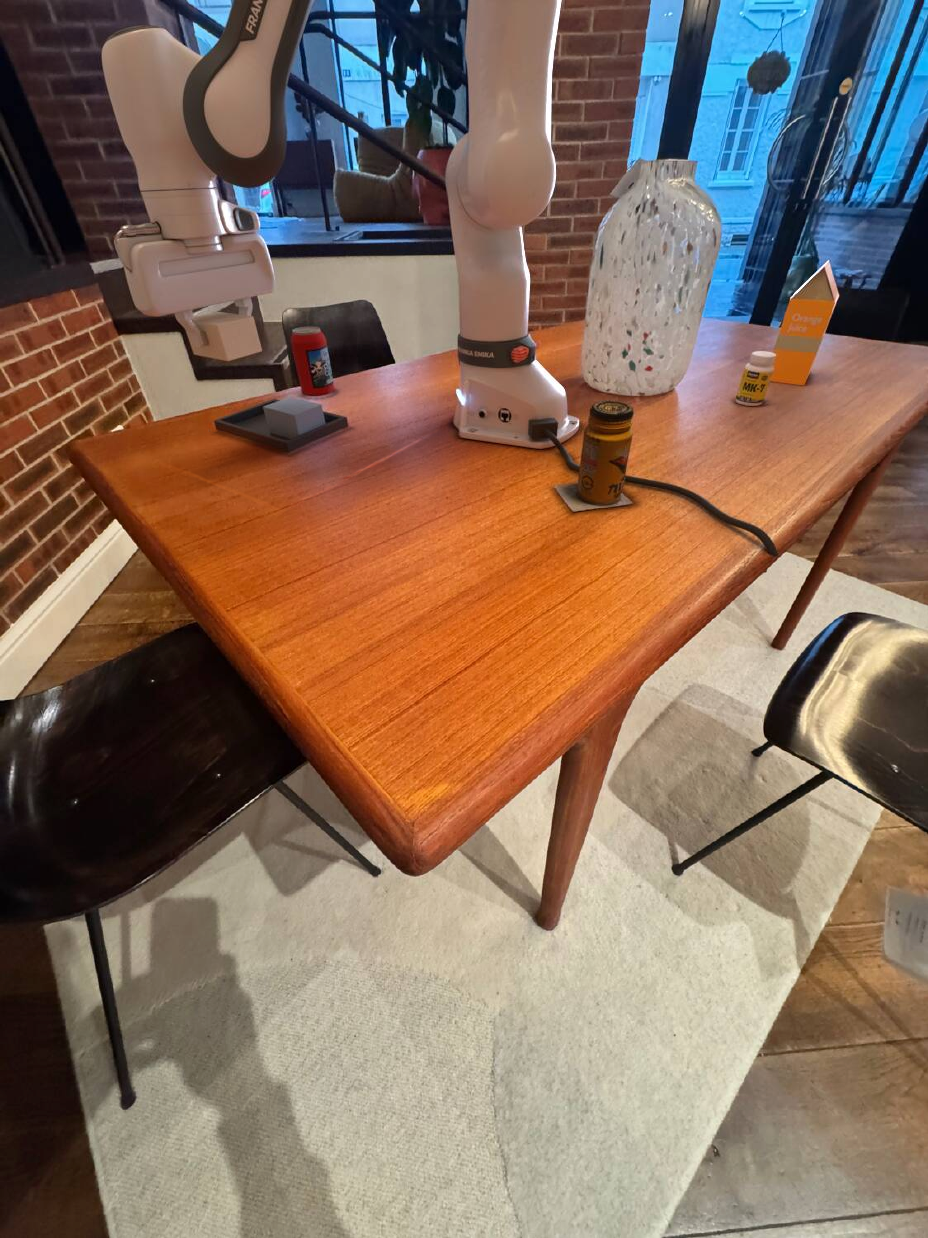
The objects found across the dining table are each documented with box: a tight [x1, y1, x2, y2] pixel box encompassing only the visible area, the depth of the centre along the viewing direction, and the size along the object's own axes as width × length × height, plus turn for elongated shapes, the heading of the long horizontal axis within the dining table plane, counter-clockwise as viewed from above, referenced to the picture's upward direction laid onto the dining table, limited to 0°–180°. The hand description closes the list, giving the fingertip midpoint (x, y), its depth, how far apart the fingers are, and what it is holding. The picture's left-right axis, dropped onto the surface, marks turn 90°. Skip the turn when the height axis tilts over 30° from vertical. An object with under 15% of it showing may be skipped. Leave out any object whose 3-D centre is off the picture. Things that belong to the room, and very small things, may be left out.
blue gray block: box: [263, 396, 325, 439], centre depth 90 cm, size 8×6×4 cm
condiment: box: [553, 400, 634, 513], centre depth 68 cm, size 7×8×12 cm
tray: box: [213, 398, 349, 453], centre depth 93 cm, size 20×14×2 cm
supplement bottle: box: [734, 350, 776, 407], centre depth 95 cm, size 5×5×8 cm
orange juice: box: [770, 259, 840, 386], centre depth 103 cm, size 8×9×20 cm
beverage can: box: [290, 326, 335, 397], centre depth 105 cm, size 7×7×12 cm
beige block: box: [184, 311, 263, 362], centre depth 75 cm, size 8×6×4 cm
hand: (224, 340), depth 75 cm, fingers closed on beige block, 6 cm apart
